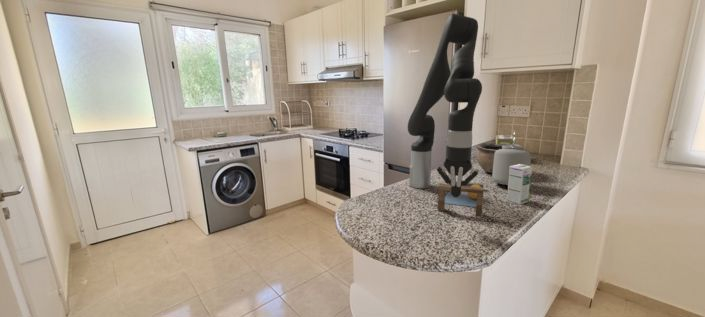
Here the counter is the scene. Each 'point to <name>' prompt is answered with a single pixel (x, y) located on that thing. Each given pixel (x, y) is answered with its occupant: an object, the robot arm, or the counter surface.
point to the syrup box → (519, 183)
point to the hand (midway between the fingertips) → (455, 196)
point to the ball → (474, 195)
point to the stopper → (473, 184)
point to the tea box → (505, 139)
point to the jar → (508, 162)
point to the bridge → (463, 189)
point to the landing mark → (460, 200)
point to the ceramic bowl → (489, 154)
